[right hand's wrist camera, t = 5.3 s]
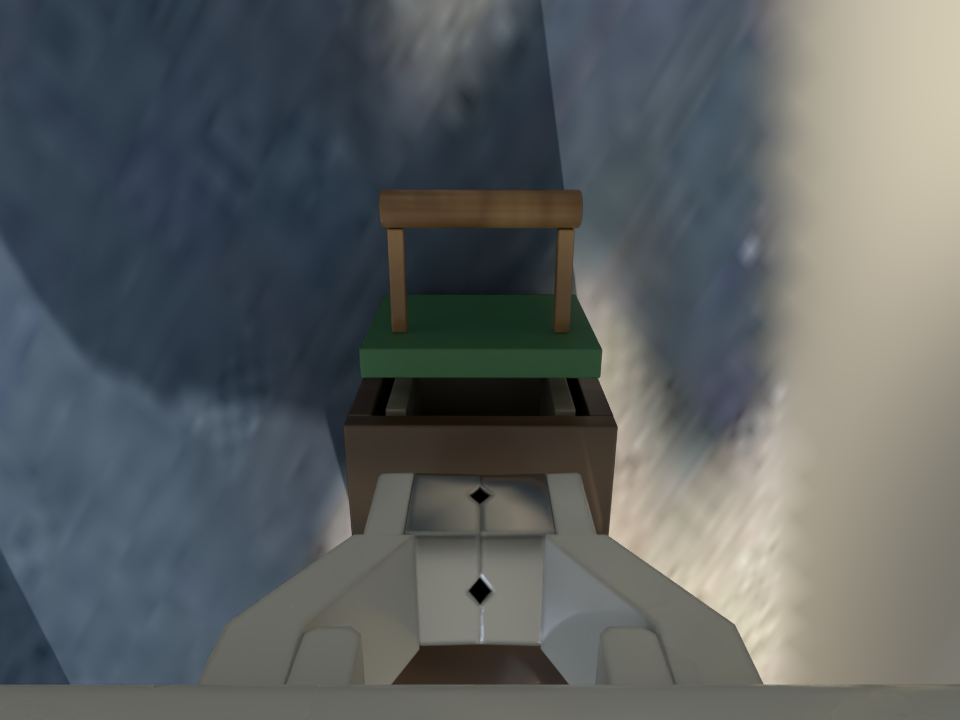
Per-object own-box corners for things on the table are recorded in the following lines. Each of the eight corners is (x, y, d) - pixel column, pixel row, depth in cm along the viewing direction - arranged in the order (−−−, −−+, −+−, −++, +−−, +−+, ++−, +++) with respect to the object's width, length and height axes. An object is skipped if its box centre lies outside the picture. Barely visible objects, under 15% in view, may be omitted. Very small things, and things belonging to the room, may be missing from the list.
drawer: (378, 173, 30) (348, 197, 23) (582, 174, 30) (613, 197, 23) (402, 636, 39) (385, 750, 33) (557, 636, 39) (573, 751, 33)
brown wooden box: (378, 341, 34) (342, 425, 25) (582, 341, 34) (618, 426, 25) (396, 674, 42) (374, 826, 33) (562, 674, 42) (584, 826, 33)
